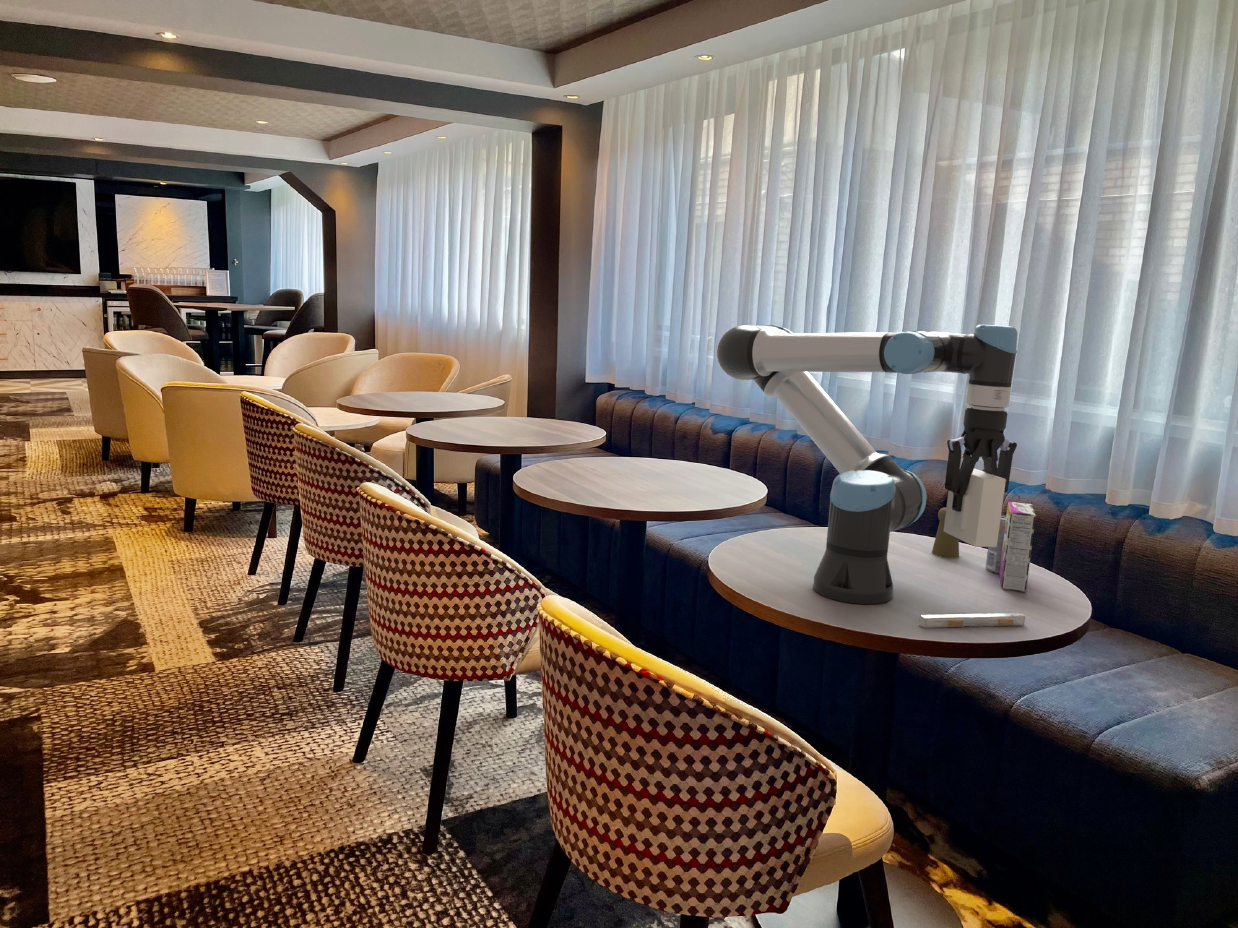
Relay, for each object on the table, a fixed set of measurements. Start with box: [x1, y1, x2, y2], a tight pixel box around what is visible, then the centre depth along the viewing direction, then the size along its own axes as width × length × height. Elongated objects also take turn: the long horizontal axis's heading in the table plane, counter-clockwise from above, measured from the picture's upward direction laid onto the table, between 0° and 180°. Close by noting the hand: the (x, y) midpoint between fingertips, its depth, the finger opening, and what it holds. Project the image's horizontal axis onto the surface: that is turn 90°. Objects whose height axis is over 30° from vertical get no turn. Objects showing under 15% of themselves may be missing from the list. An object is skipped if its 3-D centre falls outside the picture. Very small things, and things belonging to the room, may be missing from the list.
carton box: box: [944, 467, 1006, 548], centre depth 174 cm, size 5×11×13 cm, turn 11°
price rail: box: [918, 612, 1026, 629], centre depth 161 cm, size 20×2×2 cm, turn 102°
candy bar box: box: [999, 501, 1037, 593], centre depth 188 cm, size 11×5×16 cm, turn 160°
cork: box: [931, 506, 960, 559], centre depth 209 cm, size 6×6×11 cm
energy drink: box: [985, 514, 1006, 574], centre depth 197 cm, size 5×5×12 cm
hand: (971, 527), depth 174 cm, fingers closed on carton box, 5 cm apart
